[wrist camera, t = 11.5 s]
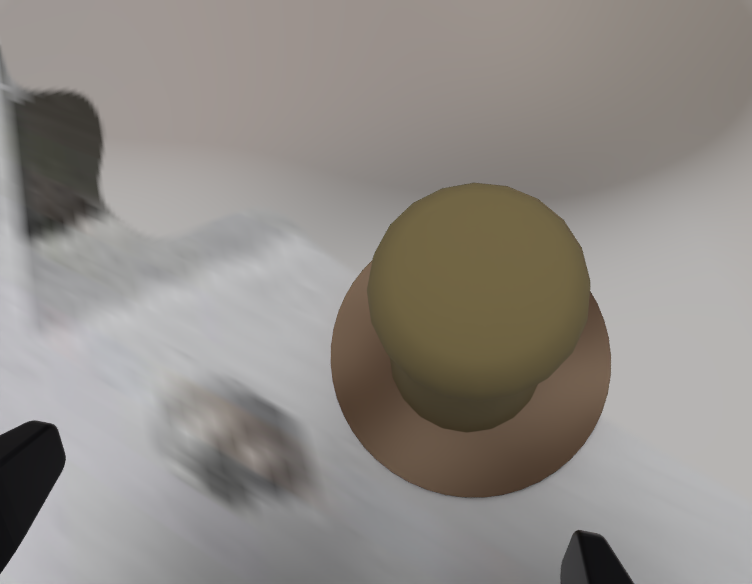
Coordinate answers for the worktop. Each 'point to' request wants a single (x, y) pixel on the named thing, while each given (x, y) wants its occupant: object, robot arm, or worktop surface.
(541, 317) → the cork
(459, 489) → the walnut plate
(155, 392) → the worktop surface
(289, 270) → the worktop surface
